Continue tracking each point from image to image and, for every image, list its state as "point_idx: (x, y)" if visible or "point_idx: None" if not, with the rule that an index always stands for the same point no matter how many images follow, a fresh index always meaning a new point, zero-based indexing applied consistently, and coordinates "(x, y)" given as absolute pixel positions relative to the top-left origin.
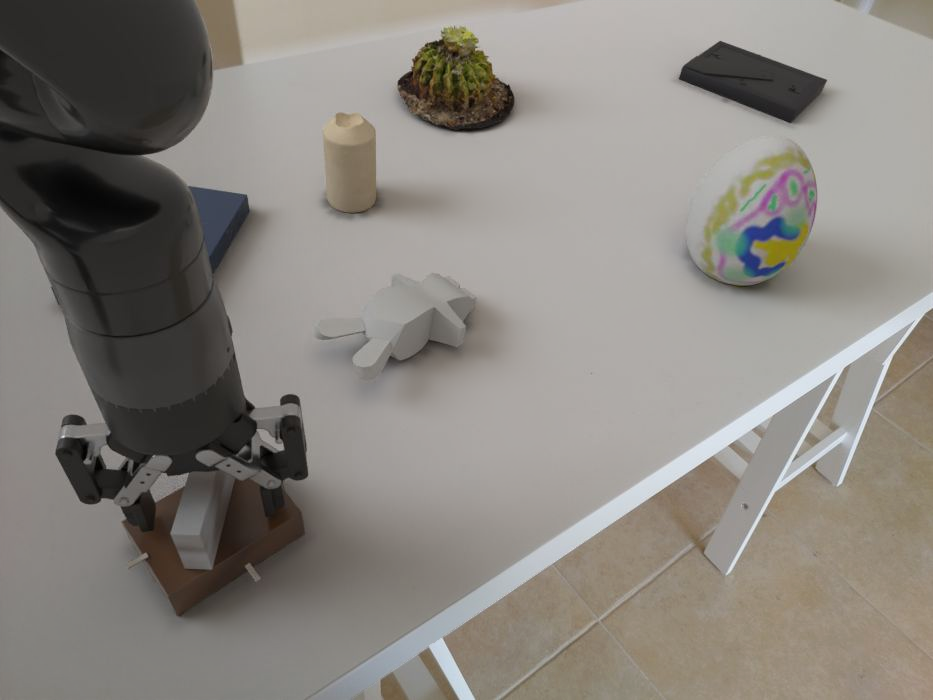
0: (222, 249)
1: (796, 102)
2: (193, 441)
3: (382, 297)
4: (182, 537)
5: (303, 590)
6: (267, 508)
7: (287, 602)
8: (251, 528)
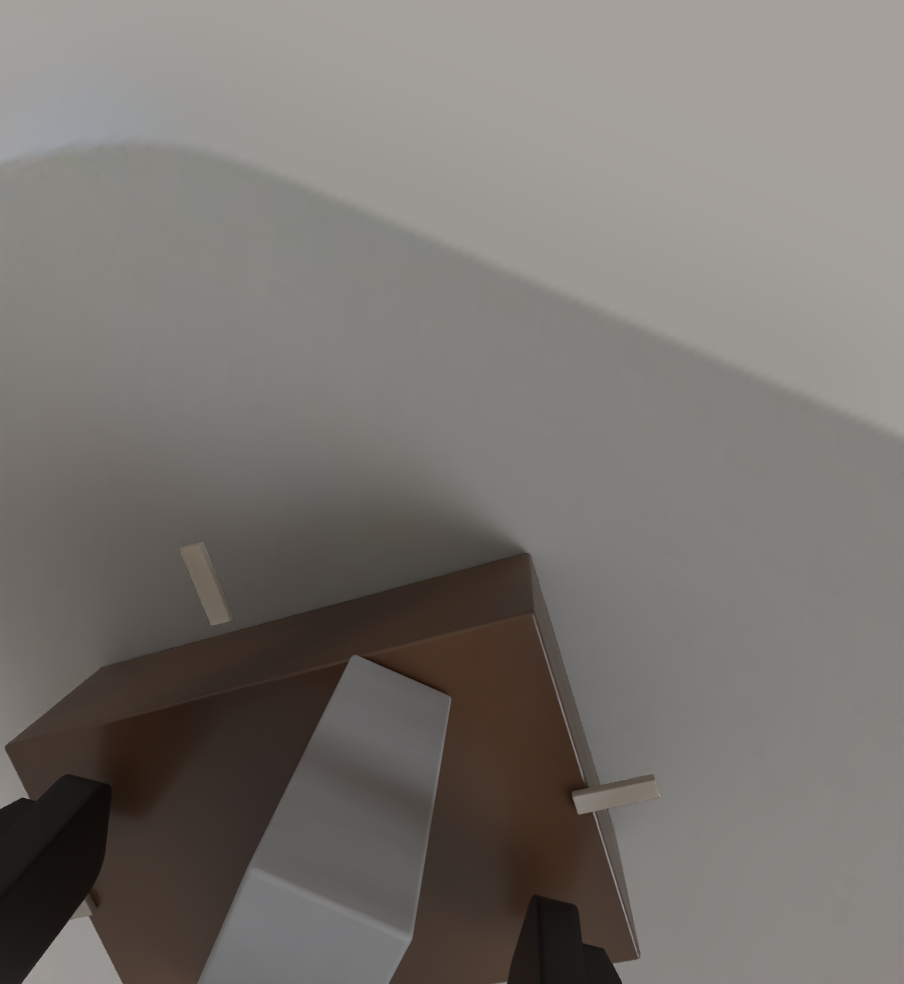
0: None
1: None
2: None
3: None
4: (359, 881)
5: (134, 484)
6: (47, 826)
7: (189, 464)
8: (191, 755)
